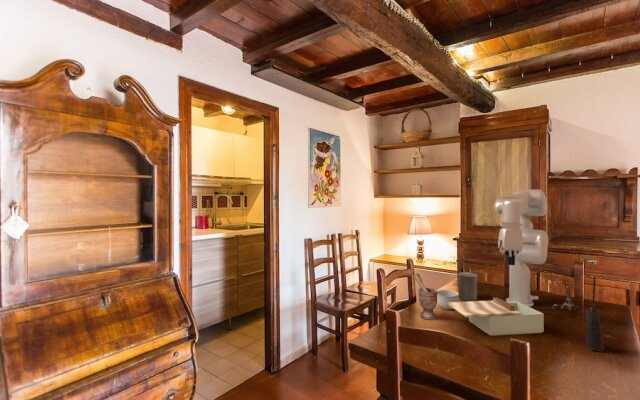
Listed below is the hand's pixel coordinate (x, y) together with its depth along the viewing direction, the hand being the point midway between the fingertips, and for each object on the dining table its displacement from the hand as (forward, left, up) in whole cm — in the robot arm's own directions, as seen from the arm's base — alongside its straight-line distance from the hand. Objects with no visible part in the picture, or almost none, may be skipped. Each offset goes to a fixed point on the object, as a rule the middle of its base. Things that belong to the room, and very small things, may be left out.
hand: (510, 264), depth 159 cm
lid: (+21, +10, -17) cm, 28 cm away
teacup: (+23, -18, -25) cm, 39 cm away
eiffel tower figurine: (-37, -8, -26) cm, 46 cm away
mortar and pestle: (+40, -6, -25) cm, 48 cm away
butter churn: (-10, +33, -25) cm, 43 cm away
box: (+10, +10, -25) cm, 29 cm away
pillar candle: (+5, -29, -25) cm, 39 cm away
